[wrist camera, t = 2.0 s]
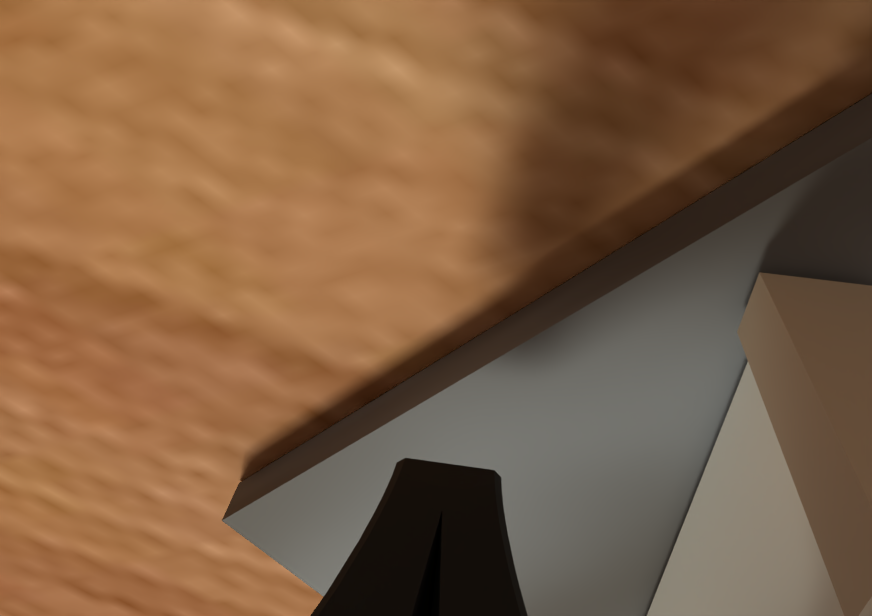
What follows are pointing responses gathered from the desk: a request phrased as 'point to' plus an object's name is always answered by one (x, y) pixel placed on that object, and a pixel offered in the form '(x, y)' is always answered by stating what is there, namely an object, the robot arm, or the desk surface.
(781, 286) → the gate leaf
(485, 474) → the robot arm
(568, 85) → the desk surface
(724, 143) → the desk surface
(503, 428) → the gate base
